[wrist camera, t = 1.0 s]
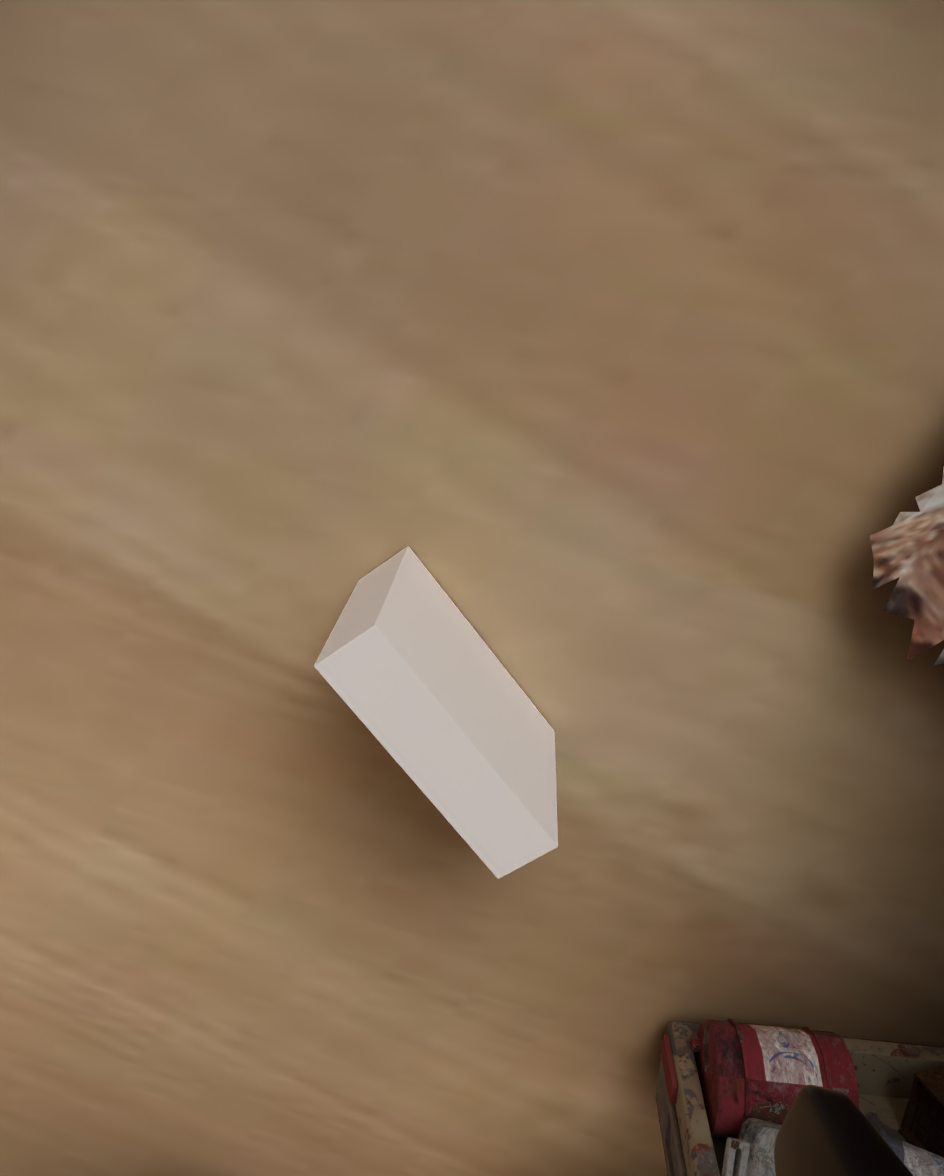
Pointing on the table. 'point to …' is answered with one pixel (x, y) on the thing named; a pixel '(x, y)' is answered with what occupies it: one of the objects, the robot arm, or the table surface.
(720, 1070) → the toy vehicle
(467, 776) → the eraser
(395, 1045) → the table surface
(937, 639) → the plant with pod
